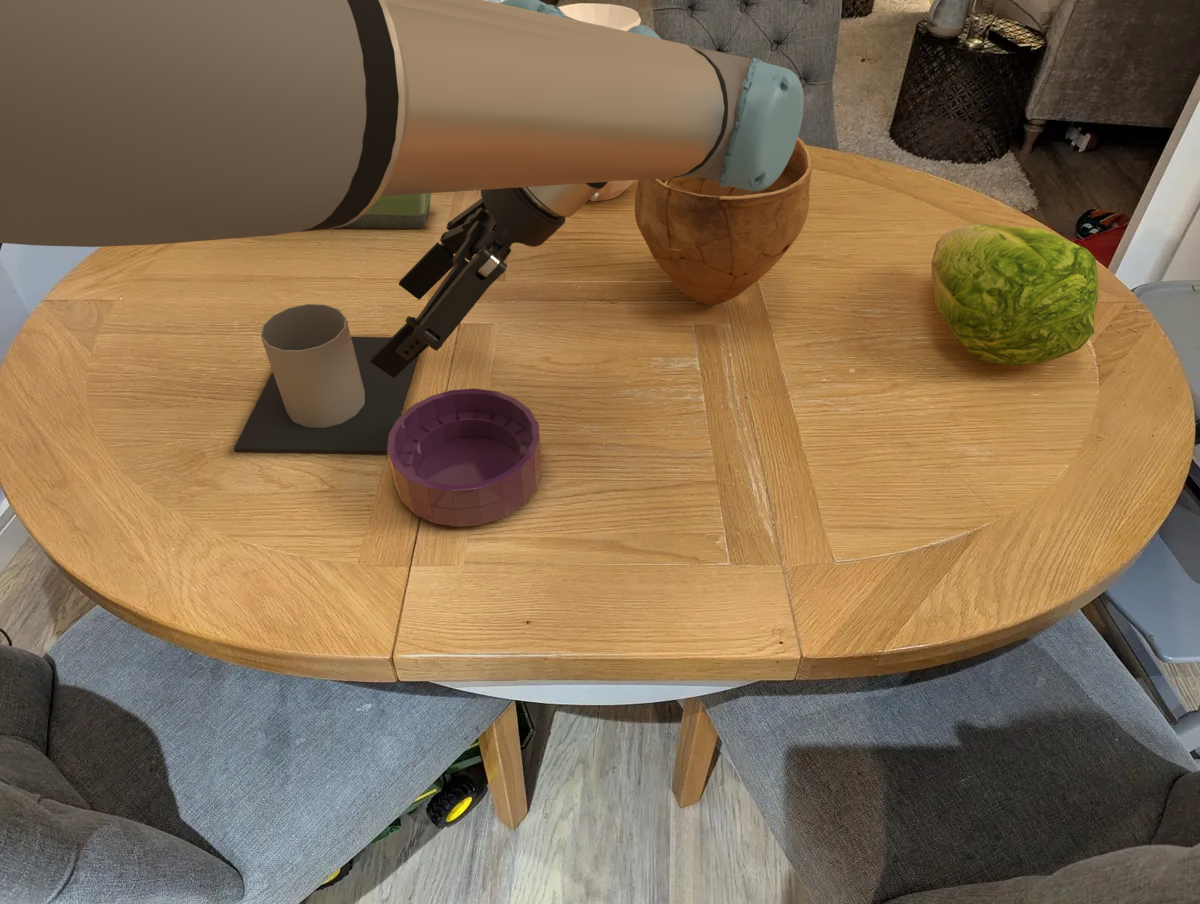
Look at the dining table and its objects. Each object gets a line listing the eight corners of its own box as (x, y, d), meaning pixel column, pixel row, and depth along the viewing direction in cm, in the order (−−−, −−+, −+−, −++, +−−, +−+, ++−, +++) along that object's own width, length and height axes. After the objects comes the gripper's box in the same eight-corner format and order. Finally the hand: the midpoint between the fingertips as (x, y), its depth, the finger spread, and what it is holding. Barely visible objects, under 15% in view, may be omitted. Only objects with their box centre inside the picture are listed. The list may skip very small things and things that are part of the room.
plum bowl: (453, 555, 74) (445, 514, 70) (369, 473, 81) (358, 433, 77) (570, 479, 81) (569, 438, 77) (483, 410, 88) (478, 370, 85)
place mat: (389, 454, 83) (388, 450, 83) (234, 452, 83) (233, 448, 83) (422, 341, 98) (422, 337, 98) (291, 339, 98) (290, 335, 98)
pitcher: (522, 170, 133) (512, 2, 115) (628, 157, 137) (634, -8, 119) (552, 223, 120) (545, 42, 102) (668, 206, 124) (680, 29, 107)
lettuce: (1007, 279, 111) (1023, 175, 102) (1116, 369, 91) (1148, 251, 82) (884, 303, 111) (890, 202, 102) (968, 398, 91) (984, 283, 83)
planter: (439, 210, 122) (432, 164, 117) (431, 233, 117) (424, 186, 112) (258, 207, 123) (244, 161, 118) (242, 231, 117) (226, 183, 112)
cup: (377, 408, 88) (359, 332, 81) (304, 438, 84) (278, 361, 77) (346, 370, 93) (326, 295, 86) (276, 396, 89) (249, 320, 82)
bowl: (804, 346, 98) (839, 189, 84) (637, 350, 97) (645, 192, 83) (769, 258, 113) (794, 113, 99) (625, 261, 112) (629, 115, 98)
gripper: (563, 289, 64) (403, 428, 74) (575, 157, 82) (445, 284, 92) (490, 227, 60) (333, 382, 70) (519, 103, 78) (391, 241, 89)
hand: (396, 327), depth 81 cm, fingers open, 13 cm apart
